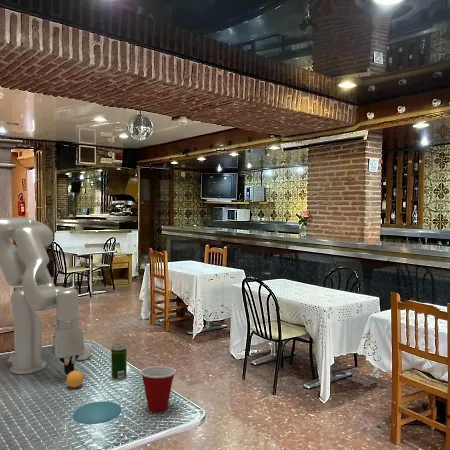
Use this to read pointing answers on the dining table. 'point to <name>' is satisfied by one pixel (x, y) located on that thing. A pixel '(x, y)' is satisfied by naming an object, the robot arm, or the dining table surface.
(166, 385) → the plastic cup
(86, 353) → the teacup
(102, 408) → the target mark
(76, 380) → the ball
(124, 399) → the dining table surface
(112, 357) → the green soda can
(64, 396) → the dining table surface
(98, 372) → the dining table surface
